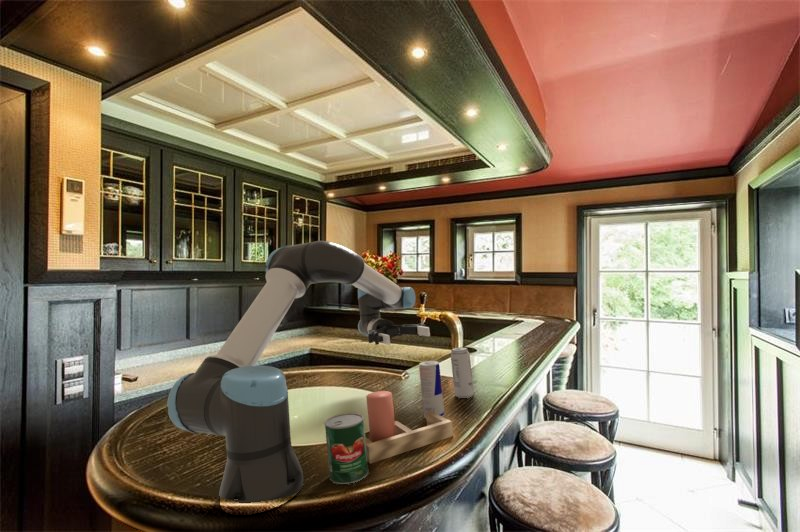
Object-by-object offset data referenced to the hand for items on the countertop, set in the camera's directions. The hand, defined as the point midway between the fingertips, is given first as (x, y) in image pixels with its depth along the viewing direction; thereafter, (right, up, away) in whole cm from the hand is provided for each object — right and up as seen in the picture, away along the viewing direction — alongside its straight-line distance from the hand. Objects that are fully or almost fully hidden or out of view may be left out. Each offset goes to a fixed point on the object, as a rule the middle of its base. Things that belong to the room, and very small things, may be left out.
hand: (409, 335), depth 112 cm
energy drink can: (+18, -21, +6) cm, 28 cm away
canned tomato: (-13, -21, -37) cm, 44 cm away
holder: (-2, -21, -23) cm, 31 cm away
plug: (-7, -21, -25) cm, 34 cm away
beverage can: (+7, -21, -9) cm, 24 cm away
